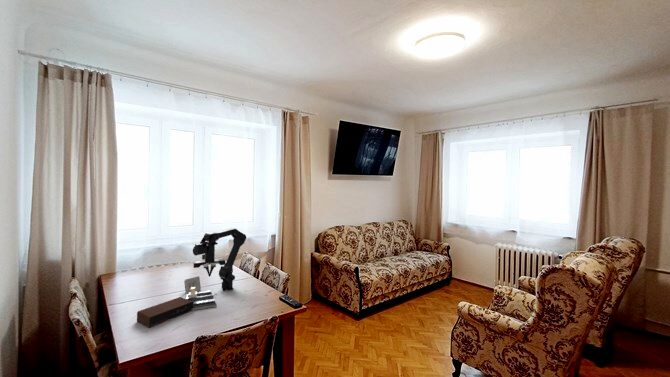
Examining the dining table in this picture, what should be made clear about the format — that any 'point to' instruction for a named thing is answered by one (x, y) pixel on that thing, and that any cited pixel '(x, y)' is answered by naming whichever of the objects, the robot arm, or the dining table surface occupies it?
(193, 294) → the breaker lever
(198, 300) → the breaker panel
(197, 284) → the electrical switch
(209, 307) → the rounded grey rails
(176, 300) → the dark wooden block
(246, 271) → the dining table surface
